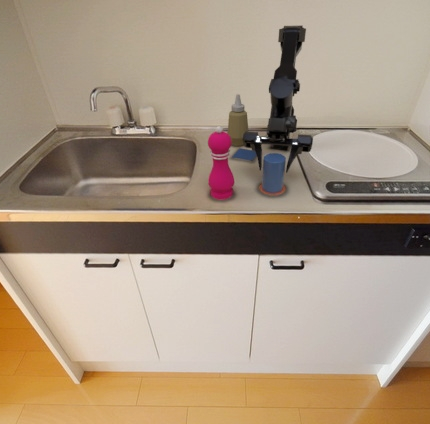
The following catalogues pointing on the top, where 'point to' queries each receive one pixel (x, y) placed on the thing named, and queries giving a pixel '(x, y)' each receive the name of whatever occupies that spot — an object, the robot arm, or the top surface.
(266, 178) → the blue tin
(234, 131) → the squeeze bottle
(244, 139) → the robot arm
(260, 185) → the terracotta mat
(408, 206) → the top surface
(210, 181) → the pepper mill
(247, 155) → the blue mat
